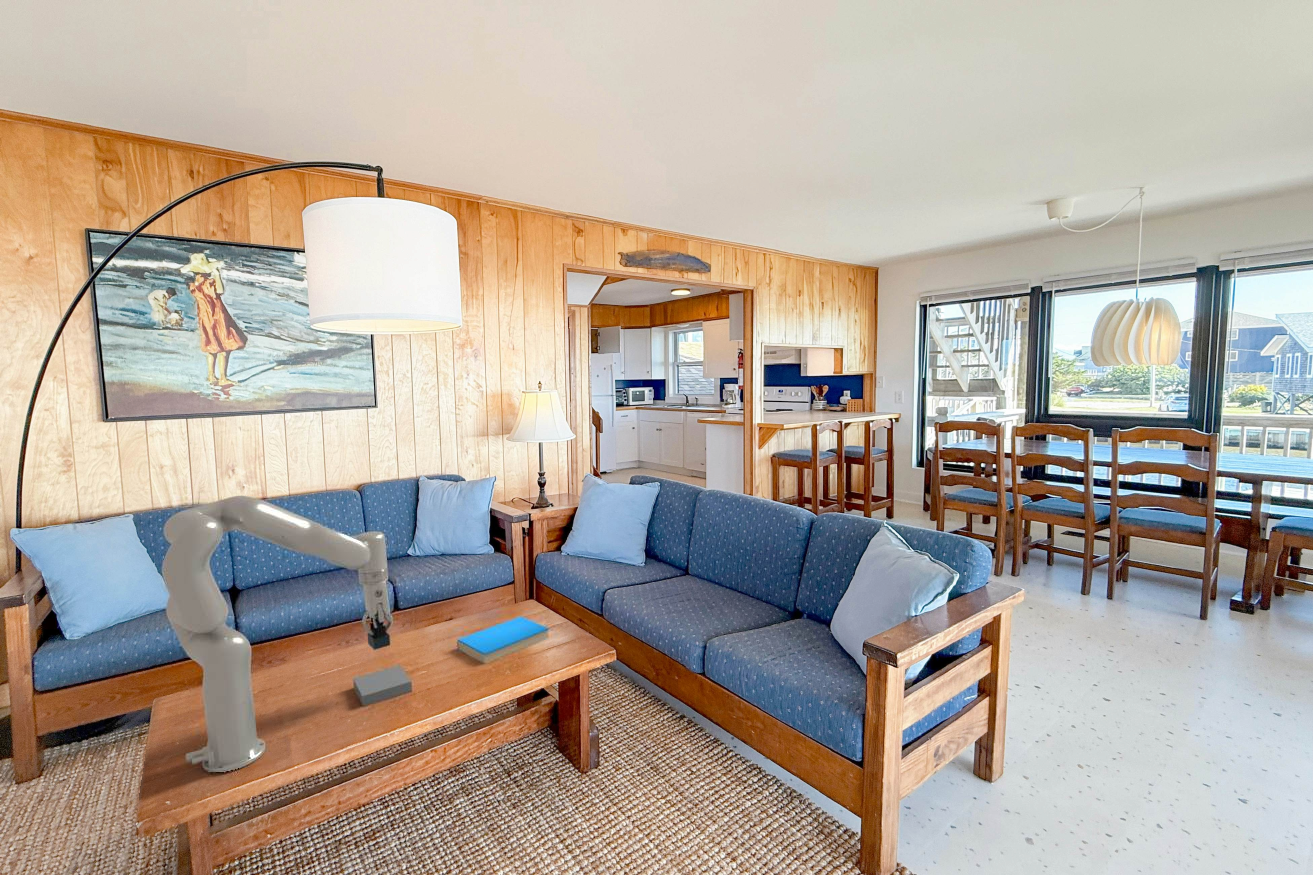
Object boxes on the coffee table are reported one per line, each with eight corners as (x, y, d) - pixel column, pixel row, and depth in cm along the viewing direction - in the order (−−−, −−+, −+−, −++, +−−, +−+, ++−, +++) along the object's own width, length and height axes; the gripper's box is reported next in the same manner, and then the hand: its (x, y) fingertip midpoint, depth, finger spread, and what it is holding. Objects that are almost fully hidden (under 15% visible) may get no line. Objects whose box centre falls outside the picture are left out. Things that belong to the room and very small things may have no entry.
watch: (397, 643, 180) (394, 606, 178) (367, 651, 174) (365, 613, 173) (390, 637, 184) (388, 601, 183) (361, 645, 179) (359, 608, 177)
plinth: (363, 706, 172) (362, 696, 171) (354, 687, 182) (353, 678, 182) (412, 691, 179) (411, 681, 179) (400, 674, 190) (399, 664, 189)
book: (549, 627, 212) (485, 652, 194) (549, 640, 213) (485, 665, 194) (519, 615, 224) (456, 637, 206) (520, 627, 224) (457, 650, 206)
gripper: (394, 580, 172) (399, 643, 174) (381, 566, 186) (385, 625, 188) (365, 586, 168) (370, 651, 170) (353, 571, 181) (358, 631, 183)
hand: (378, 636), depth 179 cm, fingers closed on watch, 3 cm apart
